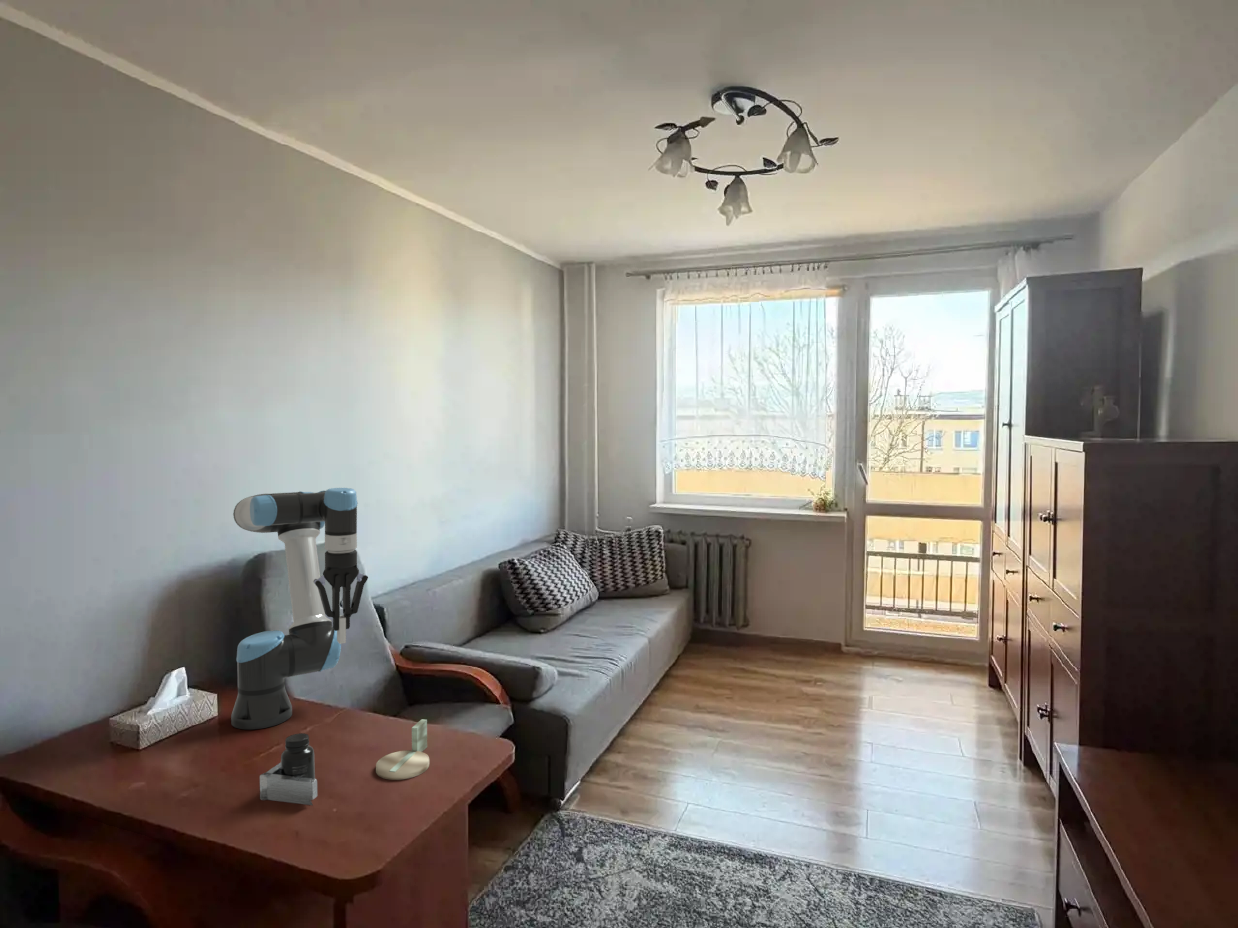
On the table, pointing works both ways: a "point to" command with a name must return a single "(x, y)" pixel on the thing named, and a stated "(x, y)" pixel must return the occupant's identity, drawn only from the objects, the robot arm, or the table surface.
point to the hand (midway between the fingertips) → (341, 641)
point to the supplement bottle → (298, 757)
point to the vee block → (287, 787)
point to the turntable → (407, 757)
